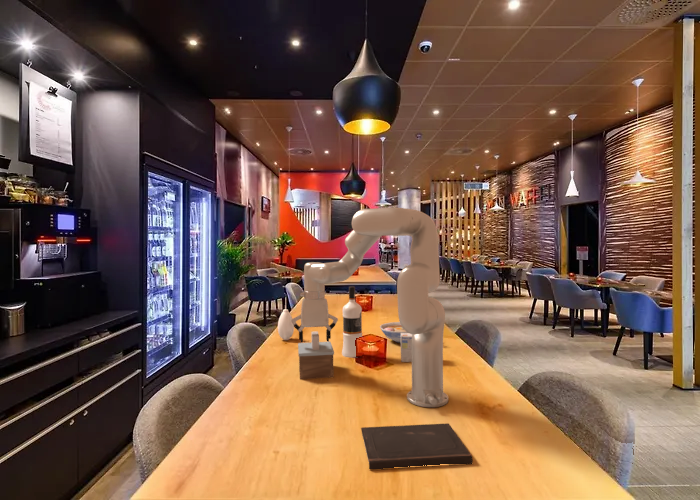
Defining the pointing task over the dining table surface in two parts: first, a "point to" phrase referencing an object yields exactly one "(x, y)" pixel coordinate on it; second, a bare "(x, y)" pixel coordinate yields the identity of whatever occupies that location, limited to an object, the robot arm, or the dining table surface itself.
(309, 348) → the lid
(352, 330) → the vodka
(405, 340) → the light bulb box
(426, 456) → the hardcover book
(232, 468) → the dining table surface
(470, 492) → the dining table surface
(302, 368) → the walnut box
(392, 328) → the ramen bowl
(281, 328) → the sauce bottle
